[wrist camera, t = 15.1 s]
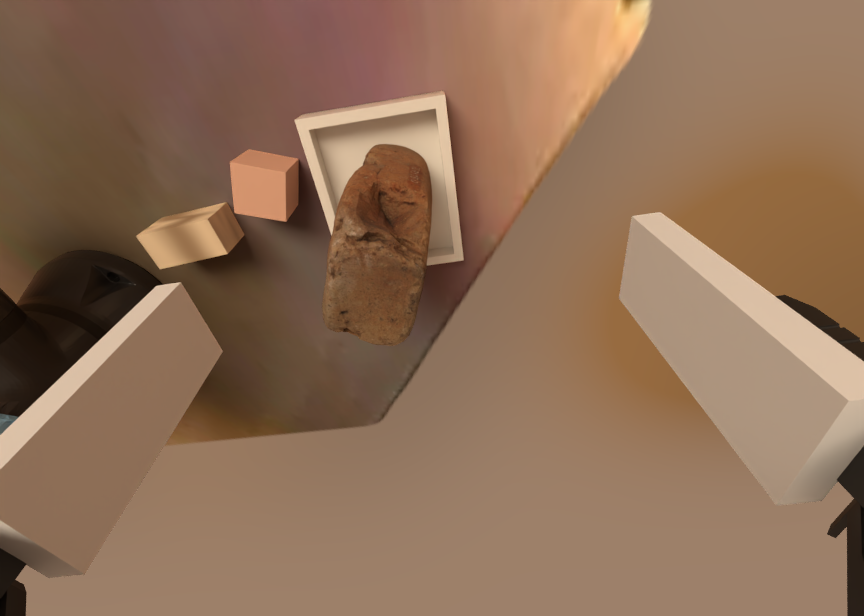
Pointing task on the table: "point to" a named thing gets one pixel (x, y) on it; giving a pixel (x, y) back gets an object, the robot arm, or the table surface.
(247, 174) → the terracotta cube
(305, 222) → the table surface
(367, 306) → the brown rough rounded part
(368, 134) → the tray
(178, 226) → the oak brick
